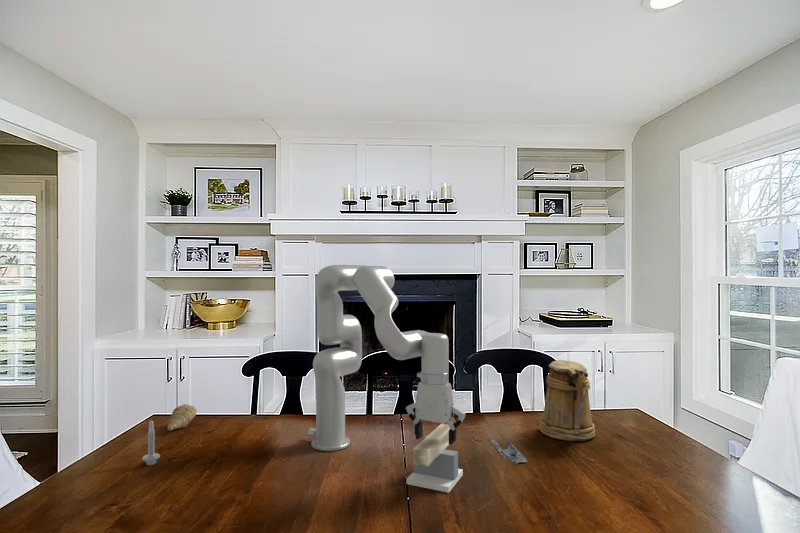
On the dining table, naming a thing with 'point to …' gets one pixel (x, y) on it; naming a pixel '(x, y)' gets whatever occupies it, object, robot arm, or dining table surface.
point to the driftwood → (510, 452)
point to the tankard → (567, 403)
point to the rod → (432, 446)
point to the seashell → (181, 417)
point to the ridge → (437, 472)
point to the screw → (151, 447)
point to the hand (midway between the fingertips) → (435, 440)
